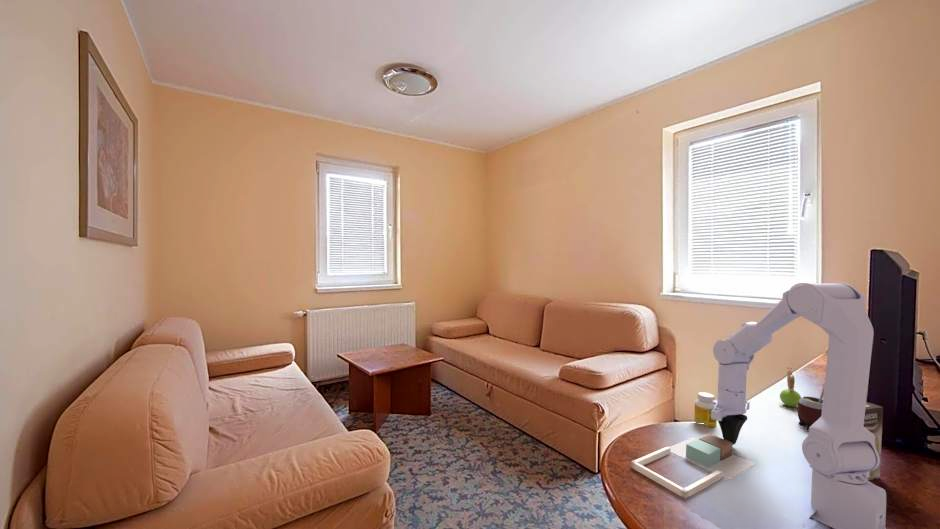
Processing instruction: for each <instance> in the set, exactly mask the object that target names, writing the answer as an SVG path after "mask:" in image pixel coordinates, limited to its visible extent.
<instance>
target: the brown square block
mask: <svg viewBox="0 0 940 529" xmlns="http://www.w3.org/2000/svg"><path fill="white" fill-rule="evenodd" d="M698 439H699V440H701V441H704V442H706V443H708V444H711V445H713V446H715V447H718V448H720V449H721V451H720V461H722V460H724V459H726V458H728V457H730V456H732V454H733V446H734V445H733V443H732V442H729V441H727V440H724V439H723V437H719V436H717V435H714V434H711V433H709V434H707V435H704V436H702V437H700V438H698Z"/></svg>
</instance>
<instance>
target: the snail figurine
mask: <svg viewBox="0 0 940 529" xmlns="http://www.w3.org/2000/svg"><path fill="white" fill-rule="evenodd" d="M792 370H793V367H789V366H788V367H787V372H786V373H787V374H786V375H787V378H786V381H787V382H786V383H787V388H788V389H783V390H782V391H781V392H780V394H779V398H780V401H781V402H782V403H783V404H784V405H785V406H786V407H787V406H788V407H791V408H794V407H798V402H799V400H800V399H801V398H802V396H801V394H800V393H799V392H797V391H796V390H795V381H796V380H795V376H794V374H793V372H792Z"/></svg>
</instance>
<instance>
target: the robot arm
mask: <svg viewBox="0 0 940 529" xmlns="http://www.w3.org/2000/svg"><path fill="white" fill-rule="evenodd" d="M866 298H867V297H866V295H864V294H863V293H862V292H860V291H859V290H857V289H856V287H854V286H852V285H850V284H848V283H847V282H846V283H845V282H835V283H824V282H823V283H822V282H821V283H818V282H815V283H810V282H799V283H796V284H793V285H792V286H791V287H790V289H788V290H786V291H785V292H783V293H782V299H780V300H779V301H778V302H777V303H776V304H775V305H774V306H773V307H772V308H771V309H770V310H769V311H768V312H767V313H766V314H765V315H763V316H762V318H760V319H759V320H758V321H757V322H756V321H749V322H743V323H742V324H741V325H740V326H741V328H740V329H738V330H737V331H736V332H735V333H731V334H730V335H729V338H727V339H718V340H716V342H715V343H714V345H713V347H712V352H713V353H712V354H713V356H714V359H716V361H717V362H718V369H717V370H718V371H717V395H716V396H717V399H715V400H714V401H712V404H714V405H715V407H714V409H713V410H711V418H712V419H715V420H717V422H718V424H719V428H720V430H721V435H722V439H724V440H727V441H729V442H732V443H733V446H734V445H736V443H737V441H738V439H739V436H740V435H739V434H740V432H741V430H742V427H743V426H744V424H745V423H746V422H747V421H748V416H747V415H746V413H747V411H748V410H750V402H751V401H748V400H746V399H747V372H748V371H749V370H750V365H751V363H752V362H753V361H754V359H755V354H756V353H758V352H759V351H760V350H762V349H763V348H764V347H767V345H769V344H770V343H771V342H772V341H773V334H774V333H776V332H777V331H779V330H780V329H782V328H783V327H785V326H786V325H788V324H790V323H791V322H794V321H795V320H796V319H798V318H800V317H803V318H804V319H806V320H808V321H809V322H811V323H812V324H814V325H816V326H818V327H819V328H821V329H822V330H823V331H824V332H825V333H826V334H827V335H828V343H827V344H828V347H827V356H826V365H825V377H824V383H825V384H824V383H823V384H824V394H823V398H822V400H823V404H822V414H821V417H820V418H819V419H818V420H817V421H816V422H815V423H814V424H812V425H811V426H810V427H808V428H809V429H808V434H807V436H806V437H805V438H804V440H803V441H802V444H801V450H802V454H803V456H804V458H805V461H806V462H807V463H808V464H809V467H810V468H811V469H812V470H811V487H810V488H811V491H810V493H811V494H810V504H811V507H812V508H813V509H814V510H815V512H813V514H811V515H810V516H809V518H811V519H814V520H815V521H817V522H819V523H821V524H824V525H826V526H828V527H830V528H832V529H887V528H886V517H887V492H886V490H885V489H884V488H882V487H881V486H878V485H876V484H874V483H873V482H871V481H870V480H867V478H869V475H870V471H873V470H875V469H876V468H878V466H879V464H880V465H881V461H880V457H879V454H878V452H877V449H876V446H875V438H876V437H875V436H874V435H873V434H872V433H871V432H870V431H868V430H867V429H866V428H865V427H864V418H865V408H866V402H867V399H868V398H867V397H868V390H869V379H870V370H871V359H872V352H873V344H874V334H875V333H874V327H873V325H872V322H871V320H870V318H869V315H868V313H867V311H866V301H867V299H866Z"/></svg>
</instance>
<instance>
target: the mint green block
mask: <svg viewBox="0 0 940 529" xmlns="http://www.w3.org/2000/svg"><path fill="white" fill-rule="evenodd" d="M696 439H697V440H695V441H692V442H690V443H688V444H686V457H687V458H690V459H692V460H694V461H696V462H698V463H700V464H702V465H704V466H706V467H708V468H709V467H710V466H712V465H714V464H716V463H718V462H720V451H721V449H720V448H718V447H715V446H713V445H711V444H708V443H706V442H704V441H701V440H699V438H696Z"/></svg>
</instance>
